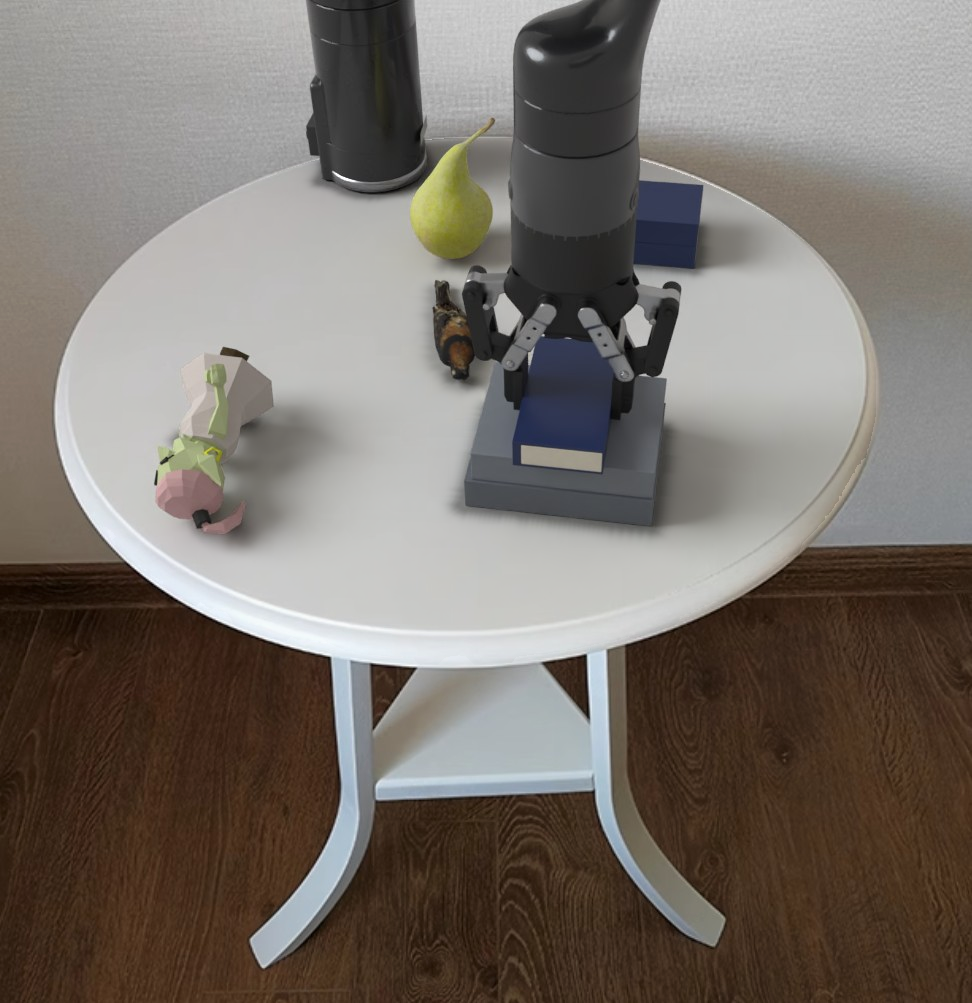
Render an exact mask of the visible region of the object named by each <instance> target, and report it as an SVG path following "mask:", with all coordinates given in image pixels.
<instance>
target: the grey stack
mask: <svg viewBox="0 0 972 1003" xmlns="http://www.w3.org/2000/svg"><path fill="white" fill-rule="evenodd" d="M529 368H530V364H528V373H529ZM667 381H668V379H667V377H659V376H657V377H650V376H648V375H639V376H637V377H636V378H635V386H634V397H633V403H632V409H631V410H630V412H629V413H621V420H613V419H611V425H610V431H609V438H608V444H607V450H606V456H605V462H604V469H603V474H602V475H601V474H592V473H583V472H573V471H564V470H554V469H545V468H535V467H526V466H517V465H513V460H512V440H513V436H514V432H515V427H516V423H517V419H518V415H519V410H514V407H513V402H507V400H506V398H505V396H504V369H503V366H502V365H501V364H500V363H499V362H498V361H495V362H494V363H493V368H492V372H491V374H490V379H489V382H488V386H487V390H486V394H485V398H484V401H483V405H482V409H481V413H480V416H479V419H478V424H477V427H476V431H475V435H474V438H473V442H472V446H471V450H470V457H469V460H468V464H467V468H466V472H465V475H464V480H463V487H464V504H465V506H468V507H475V508H486V509H494V510H502V511H510V512H511V511H512V512H520V513H529V514H536V515H537V514H538V515H546V516H557V517H565V518H574V519H582V520H583V519H584V520H591V521H602V522H608V523H609V522H611V523H619V524H628V525H637V526H644V527H645V526H646V527H652V525H653V517H654V509H655V502H656V501H655V499H656V491H657V484H658V475H659V467H660V458H661V451H662V450H661V449H662V442H663V434H664V433H663V432H664V425H665V424H664V423H665V416H666V405H667V403H666V390H667Z"/></svg>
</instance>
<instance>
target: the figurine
mask: <svg viewBox="0 0 972 1003" xmlns="http://www.w3.org/2000/svg"><path fill="white" fill-rule="evenodd" d="M249 358H250V355H249V354H247V353H245V352H243V351H241V350H238V349H237V348H232V347H227V346H222V348H221V350H220V353H219V354H216V353H207V352H203V353H201V354H200V355H199V356H197V357H196V358H194V359H193V360H192V361H190V362H188V363H187V364H185V365H184V366H183V367H181V368H180V374H181V380H182V385H183V391H184V397H185V398H186V400H187V403H188V404H189V406H190V408H189V410H188V411H187V413H186V414H185V415H184V418H183V419H182V421H181V422H180V424H179V428H178V436H179V437H177V438H176V439H174V440H173V444H172V450H171V449H170V448H167V447H165V446H162V445H156V446H157V453H158V458H159V465H158V466H157V469H155V476H154V480H153V481H154V482H153V485H154V486H155V501H154V502H155V504H156V505H157V507H158V508H159V509H160V510H162V511H163V512H165V513H166V514H167V515H169V516H171V517H173V518H176V519H179V520H191V521H192V520H193V523H194V525H195V528H196V529H201V530H202V531H203V534H219V535H225V534H227V533H229V532H230V531H232V530H233V529H235V528H236V527H238V526H239V525H241V522H242V519H243V515H244V513H245V508H246V506H247V502H246V501H245V500H242V501H241V502H240V503H239V505H238V506H237V507H236V509H234V511H233V512H232V513H231V514H230V515H228V516H227V517H224V519H222V520H220V521H218V522H214V523H213V521H212V519H211V516H210V515H212V514H214V513H216V512H217V511H218V510H219V509H220V508H221V506H222V504H223V501H224V499H225V498H224V490H225V484H226V483H225V482H226V476H225V472H224V468H223V466H222V464H224V463H226V462H227V461H228V460H229V459H230V458H231V457H232V456H233V455H234V454H235V452H236V450H237V449H238V445H239V444H238V443H239V440H240V434H241V428H242V426H244V425H247V424H248V423H250V422H252V421H254V420H256V418H258V417H260V416H262V415H263V414H265V413H266V412H269V410H271V409H273V408H274V407H275V403H274V394H273V384H272V380H271V379H270V378H269V377H268V376H266V375H265V374H264V373H262V372H261V371H260V370H258V368H256V367H254V366H253V365H252V364H251V363H249V362H248V360H249Z"/></svg>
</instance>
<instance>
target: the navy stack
mask: <svg viewBox="0 0 972 1003" xmlns="http://www.w3.org/2000/svg"><path fill="white" fill-rule="evenodd" d="M703 196H704V184H696V183H684V182H683V183H682V182H668V181H655V180H641V179H639V198H638V204H637V218H636V232H635V247H634V262H633V265H634V264H635V265H647V266H659V267H671V268H672V267H673V268H682V269H683V268H684V269H695V266H696V258H697V250H698V240H699V231H700V224H701V215H702V214H701V213H702V207H703V206H702V204H703Z"/></svg>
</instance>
